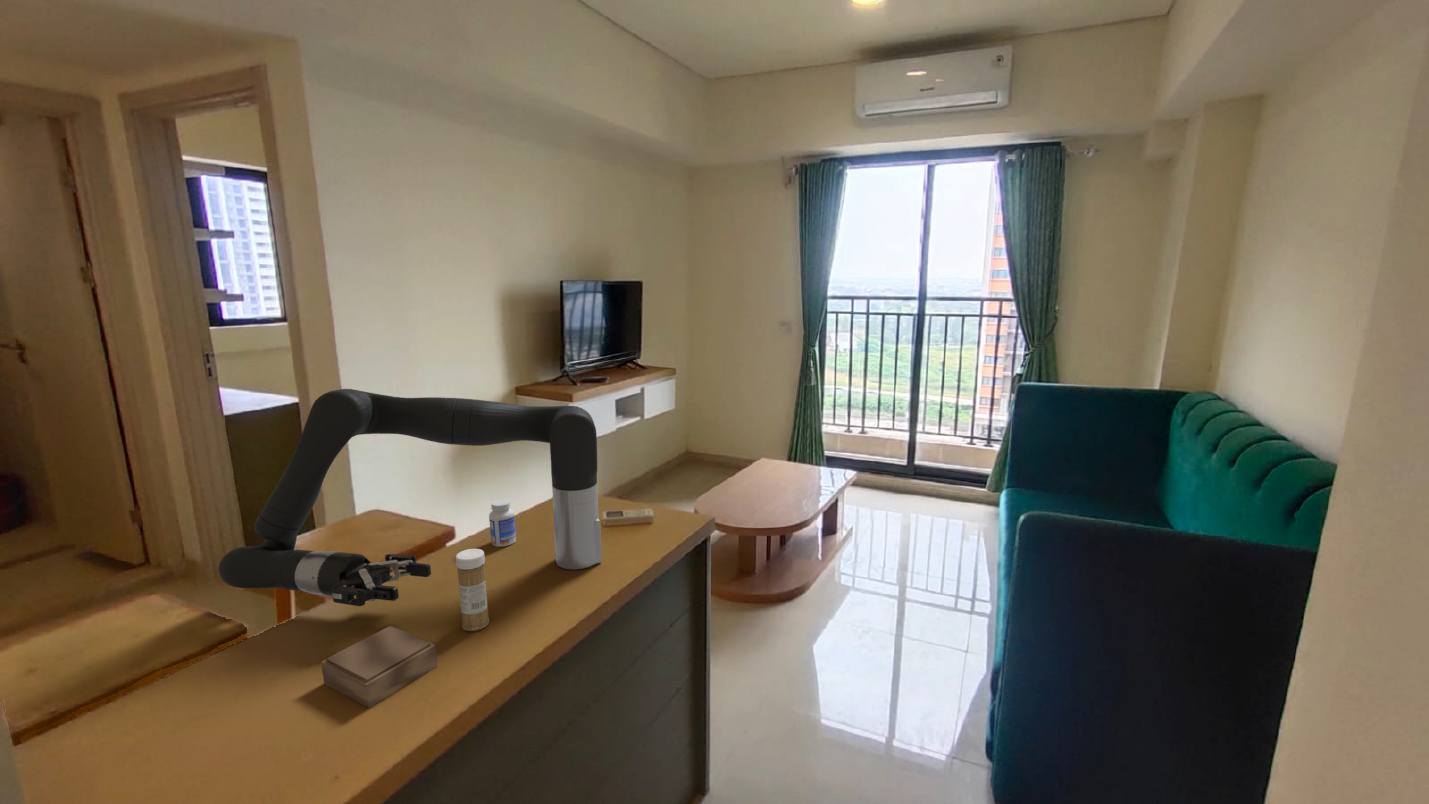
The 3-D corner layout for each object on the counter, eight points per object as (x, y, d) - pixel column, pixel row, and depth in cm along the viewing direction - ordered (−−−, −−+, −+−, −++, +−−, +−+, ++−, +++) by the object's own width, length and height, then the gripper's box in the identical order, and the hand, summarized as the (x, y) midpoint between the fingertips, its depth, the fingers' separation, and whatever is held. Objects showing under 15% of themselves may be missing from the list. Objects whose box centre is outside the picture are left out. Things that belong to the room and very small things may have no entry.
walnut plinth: (393, 646, 101) (390, 623, 100) (437, 666, 95) (435, 642, 95) (323, 683, 91) (320, 659, 90) (369, 708, 86) (366, 682, 85)
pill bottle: (519, 538, 143) (517, 498, 141) (510, 548, 138) (507, 507, 136) (497, 537, 144) (494, 497, 142) (486, 547, 138) (483, 506, 137)
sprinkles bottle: (488, 616, 110) (482, 545, 107) (490, 628, 106) (485, 556, 103) (460, 622, 108) (454, 550, 105) (462, 635, 104) (456, 561, 101)
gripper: (296, 572, 102) (382, 581, 99) (360, 537, 115) (437, 544, 112) (302, 613, 103) (387, 623, 100) (364, 574, 117) (441, 582, 114)
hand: (413, 582), depth 106 cm, fingers open, 8 cm apart
